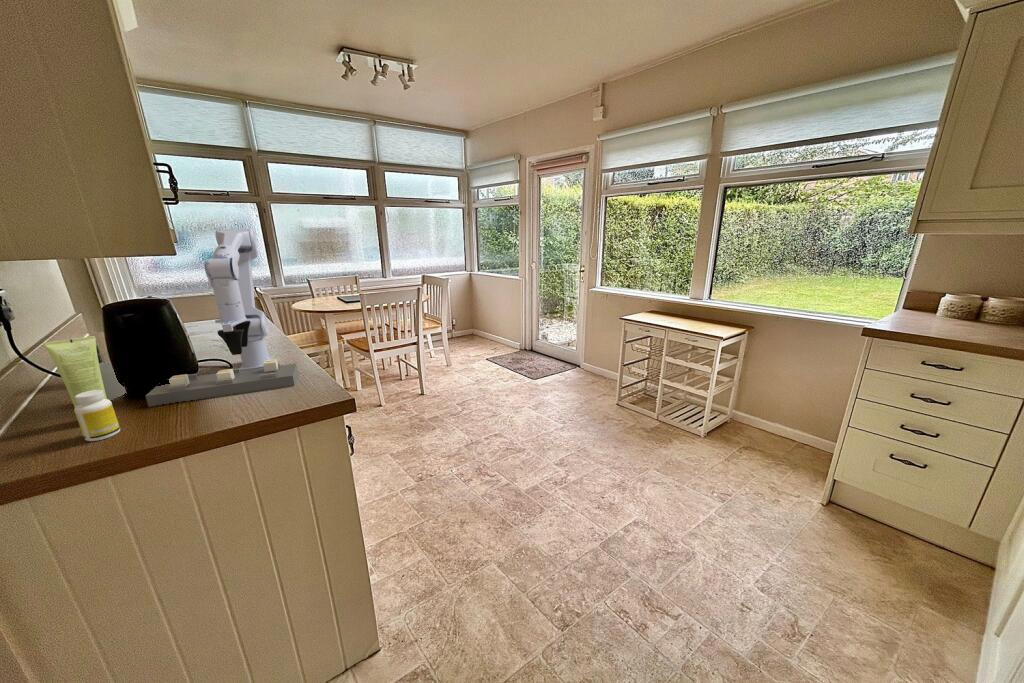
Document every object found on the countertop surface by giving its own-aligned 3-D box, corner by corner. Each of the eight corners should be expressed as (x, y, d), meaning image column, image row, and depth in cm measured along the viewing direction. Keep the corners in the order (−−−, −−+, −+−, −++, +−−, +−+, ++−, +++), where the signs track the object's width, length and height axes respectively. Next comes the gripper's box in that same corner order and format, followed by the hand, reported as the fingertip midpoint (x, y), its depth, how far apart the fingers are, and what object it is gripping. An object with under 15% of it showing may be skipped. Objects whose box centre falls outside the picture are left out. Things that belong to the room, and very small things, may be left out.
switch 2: (266, 368, 111) (264, 360, 110) (278, 367, 112) (276, 358, 111) (264, 372, 108) (263, 363, 108) (277, 370, 109) (275, 361, 109)
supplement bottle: (128, 429, 84) (114, 388, 81) (100, 442, 79) (84, 399, 76) (106, 428, 84) (92, 387, 82) (77, 441, 79) (61, 398, 76)
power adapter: (95, 402, 97) (79, 358, 94) (117, 394, 102) (103, 351, 99) (106, 403, 97) (91, 358, 93) (128, 394, 102) (114, 351, 99)
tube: (99, 413, 91) (71, 335, 86) (120, 413, 91) (94, 335, 86) (73, 425, 86) (42, 342, 80) (96, 425, 86) (67, 342, 80)
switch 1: (175, 384, 100) (173, 375, 99) (189, 382, 101) (187, 373, 100) (171, 389, 97) (168, 379, 96) (185, 387, 98) (183, 377, 97)
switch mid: (221, 378, 103) (219, 369, 103) (234, 377, 105) (232, 368, 104) (218, 382, 101) (216, 373, 100) (232, 381, 102) (229, 371, 101)
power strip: (166, 390, 104) (162, 376, 103) (298, 372, 116) (295, 360, 115) (148, 406, 94) (144, 392, 93) (294, 385, 107) (292, 372, 106)
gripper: (219, 299, 108) (229, 345, 112) (203, 309, 96) (215, 360, 100) (248, 298, 111) (257, 342, 115) (236, 306, 98) (247, 356, 102)
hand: (240, 350), depth 107 cm, fingers open, 7 cm apart
